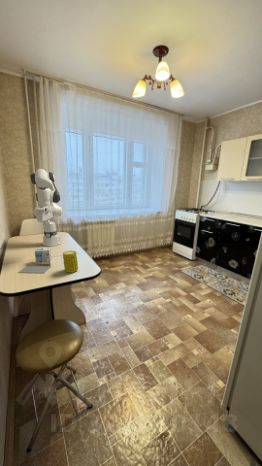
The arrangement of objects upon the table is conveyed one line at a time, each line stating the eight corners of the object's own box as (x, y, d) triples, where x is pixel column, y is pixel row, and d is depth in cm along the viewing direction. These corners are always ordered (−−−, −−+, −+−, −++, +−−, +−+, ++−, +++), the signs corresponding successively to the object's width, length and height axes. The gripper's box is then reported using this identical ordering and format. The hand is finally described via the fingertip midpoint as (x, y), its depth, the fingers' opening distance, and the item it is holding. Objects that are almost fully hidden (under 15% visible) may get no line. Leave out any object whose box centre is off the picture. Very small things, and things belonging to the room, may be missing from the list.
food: (69, 276, 134) (63, 272, 141) (84, 268, 141) (77, 264, 148) (62, 257, 128) (56, 254, 135) (78, 249, 135) (71, 247, 142)
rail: (30, 264, 148) (29, 262, 147) (50, 265, 147) (50, 262, 147) (28, 265, 146) (28, 263, 145) (49, 266, 146) (49, 263, 145)
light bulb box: (35, 264, 149) (34, 250, 146) (37, 260, 155) (36, 248, 152) (50, 262, 152) (49, 249, 149) (51, 259, 158) (50, 247, 155)
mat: (27, 265, 146) (27, 265, 146) (51, 266, 146) (51, 265, 145) (18, 272, 134) (18, 272, 134) (44, 273, 134) (44, 273, 134)
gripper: (46, 206, 163) (47, 222, 166) (34, 209, 143) (36, 227, 146) (53, 206, 163) (55, 222, 166) (42, 209, 143) (44, 227, 146)
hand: (46, 225), depth 156 cm, fingers closed
